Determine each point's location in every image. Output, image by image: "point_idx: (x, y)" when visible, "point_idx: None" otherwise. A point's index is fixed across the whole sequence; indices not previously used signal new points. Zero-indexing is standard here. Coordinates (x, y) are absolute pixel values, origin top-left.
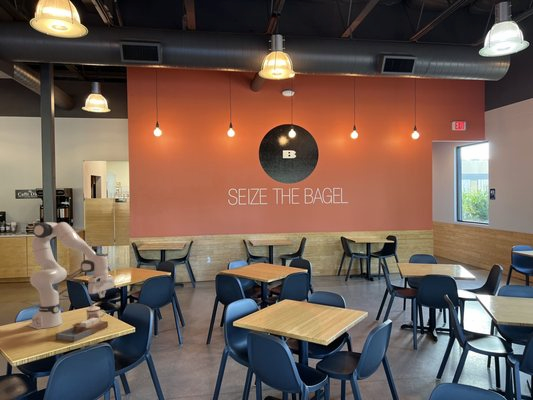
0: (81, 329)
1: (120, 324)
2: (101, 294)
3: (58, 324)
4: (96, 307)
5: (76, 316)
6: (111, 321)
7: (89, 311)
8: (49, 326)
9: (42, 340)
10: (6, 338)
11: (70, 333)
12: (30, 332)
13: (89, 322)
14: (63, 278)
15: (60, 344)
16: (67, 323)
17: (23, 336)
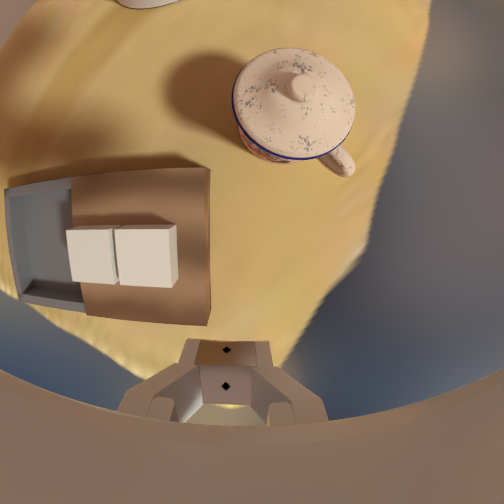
0: None
1: (276, 336)
2: (185, 414)
3: (159, 3)
4: (307, 127)
5: None
6: (312, 245)
7: (233, 109)
8: (122, 2)
9: (8, 142)
10: (26, 15)
11: (64, 190)
12: (71, 6)
13: (94, 281)
14: None
15: (8, 256)
16: (202, 13)
17: (36, 33)
